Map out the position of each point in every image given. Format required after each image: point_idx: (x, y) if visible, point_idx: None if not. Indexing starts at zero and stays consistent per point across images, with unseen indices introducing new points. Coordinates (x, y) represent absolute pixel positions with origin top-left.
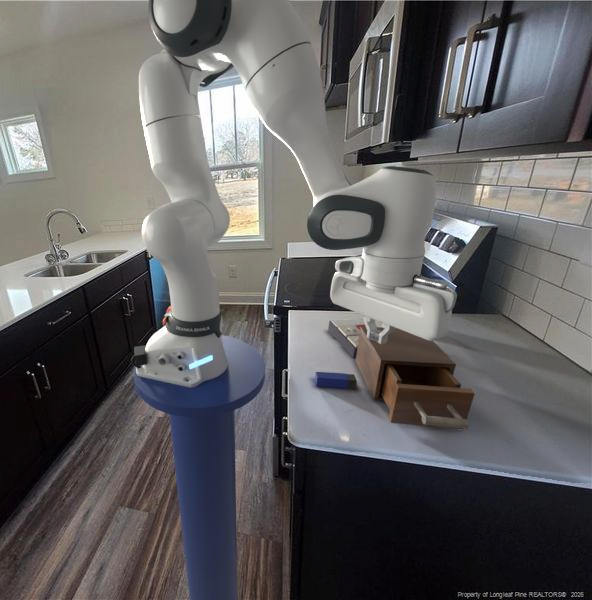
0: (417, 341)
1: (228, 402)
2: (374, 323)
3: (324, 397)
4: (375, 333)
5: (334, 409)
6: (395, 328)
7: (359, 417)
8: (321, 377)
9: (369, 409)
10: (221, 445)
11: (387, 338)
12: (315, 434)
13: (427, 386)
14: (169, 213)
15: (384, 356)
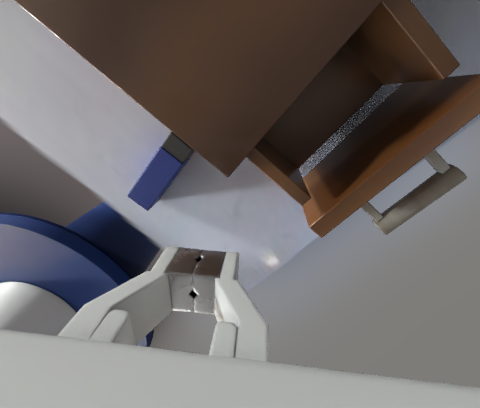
0: None
1: (145, 338)
2: (139, 299)
3: (189, 213)
4: (198, 312)
5: (221, 224)
6: (264, 322)
7: (257, 209)
8: (150, 203)
9: (254, 177)
10: (153, 243)
11: (237, 263)
12: (244, 283)
13: (376, 177)
14: None
15: (218, 146)
